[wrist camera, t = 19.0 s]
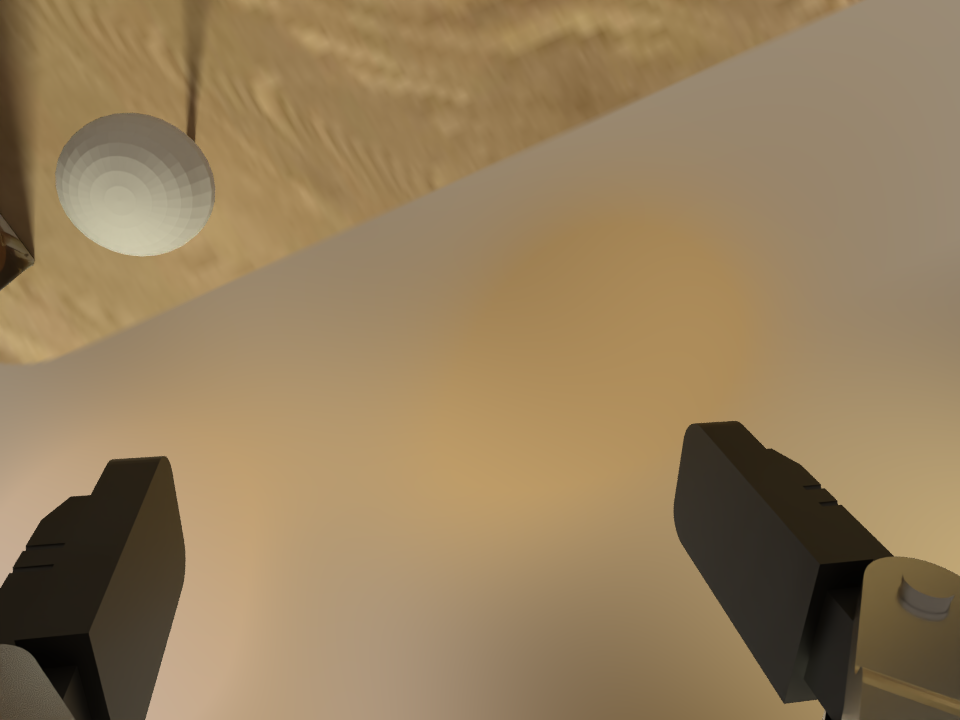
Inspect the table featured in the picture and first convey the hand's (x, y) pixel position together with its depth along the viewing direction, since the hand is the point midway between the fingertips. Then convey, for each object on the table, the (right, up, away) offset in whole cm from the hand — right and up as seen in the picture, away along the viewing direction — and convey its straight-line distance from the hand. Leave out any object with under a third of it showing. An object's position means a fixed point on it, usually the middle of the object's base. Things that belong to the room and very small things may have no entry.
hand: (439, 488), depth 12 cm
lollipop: (-16, +14, +31) cm, 38 cm away
